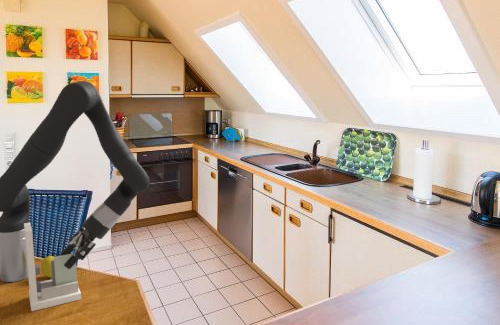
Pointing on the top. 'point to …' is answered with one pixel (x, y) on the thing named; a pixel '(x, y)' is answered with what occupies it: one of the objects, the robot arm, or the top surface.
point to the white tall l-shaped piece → (45, 282)
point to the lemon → (47, 266)
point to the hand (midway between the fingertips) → (64, 261)
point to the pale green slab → (62, 271)
